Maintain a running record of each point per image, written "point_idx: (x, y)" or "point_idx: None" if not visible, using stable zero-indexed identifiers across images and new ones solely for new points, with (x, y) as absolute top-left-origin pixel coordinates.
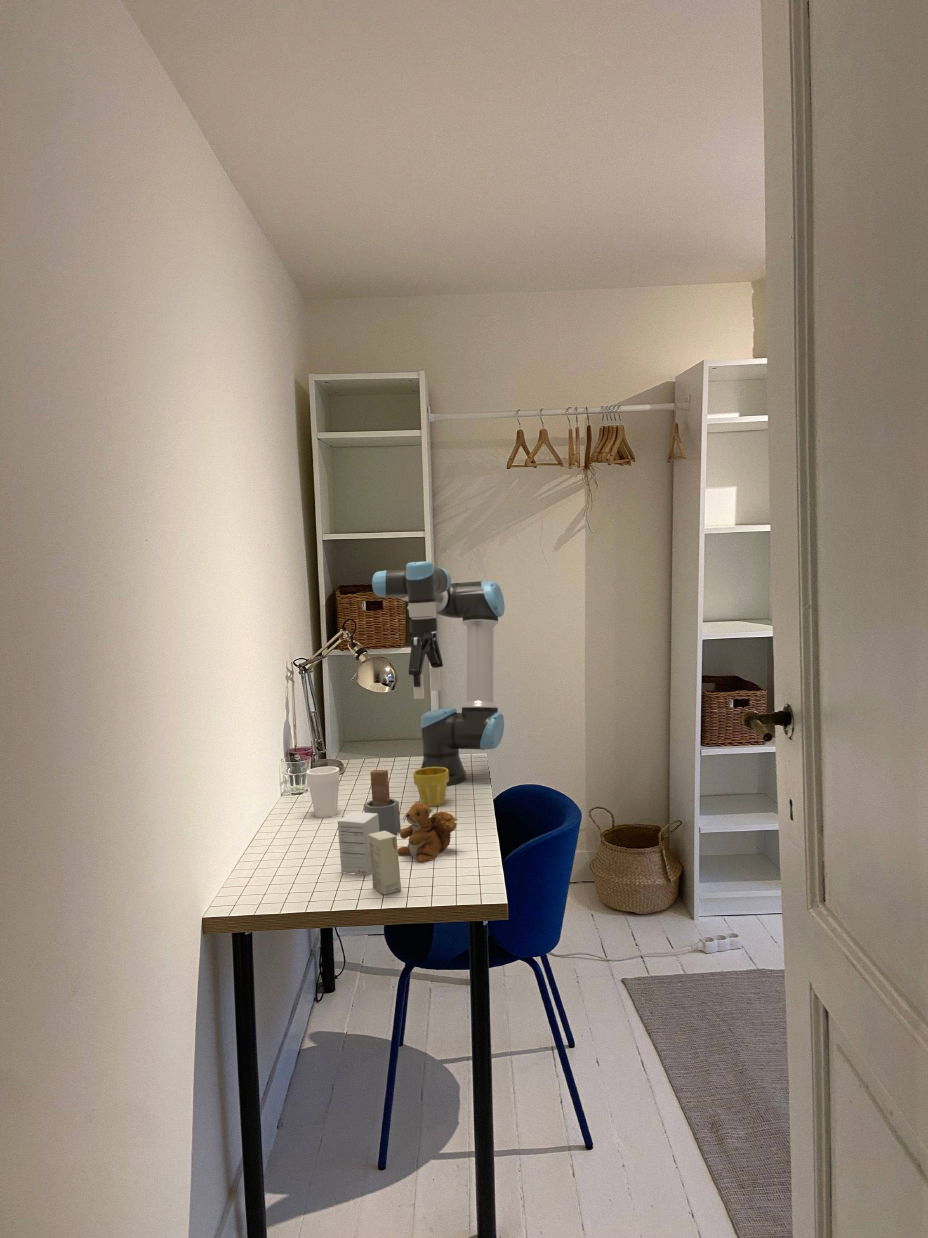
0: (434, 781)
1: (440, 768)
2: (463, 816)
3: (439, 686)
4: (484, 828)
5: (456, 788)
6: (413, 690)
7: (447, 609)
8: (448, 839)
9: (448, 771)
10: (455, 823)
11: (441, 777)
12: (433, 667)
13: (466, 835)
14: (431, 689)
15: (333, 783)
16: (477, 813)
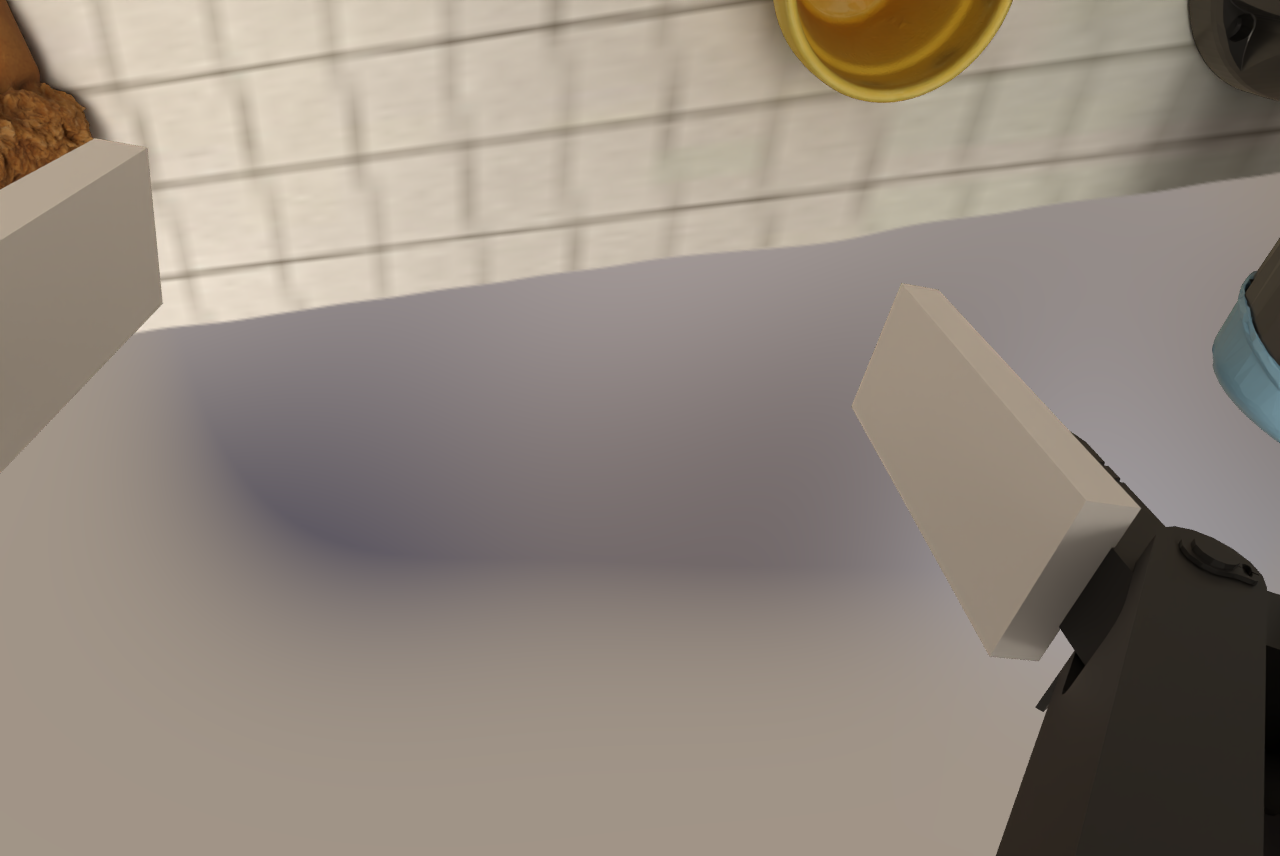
0: (778, 12)
1: (982, 33)
2: (577, 167)
3: (870, 433)
4: (394, 283)
5: (1110, 61)
6: (18, 181)
7: None
8: None
9: (892, 101)
10: None
11: (803, 62)
12: (1106, 562)
13: (287, 217)
14: (909, 294)
15: None
16: (621, 229)
